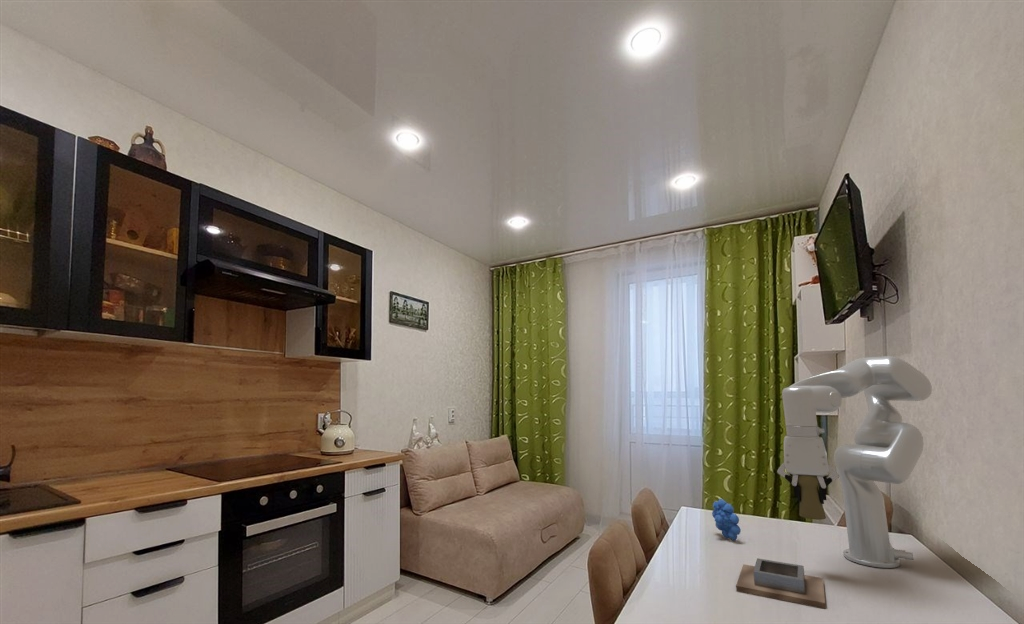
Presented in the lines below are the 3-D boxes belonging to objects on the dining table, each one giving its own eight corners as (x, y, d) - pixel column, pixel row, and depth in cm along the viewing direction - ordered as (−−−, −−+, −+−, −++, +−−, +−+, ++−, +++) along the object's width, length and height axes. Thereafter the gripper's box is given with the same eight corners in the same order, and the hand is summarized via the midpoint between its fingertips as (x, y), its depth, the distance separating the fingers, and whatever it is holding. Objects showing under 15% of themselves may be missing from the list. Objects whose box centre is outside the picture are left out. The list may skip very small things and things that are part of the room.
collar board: (823, 583, 115) (822, 577, 116) (825, 608, 102) (825, 603, 102) (743, 569, 125) (743, 564, 125) (736, 591, 111) (735, 585, 112)
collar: (804, 578, 115) (803, 565, 116) (804, 594, 107) (803, 580, 107) (758, 570, 121) (757, 558, 121) (754, 584, 112) (753, 571, 113)
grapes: (704, 534, 155) (701, 496, 157) (721, 532, 156) (718, 495, 158) (729, 545, 143) (725, 505, 145) (746, 543, 145) (743, 503, 147)
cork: (826, 520, 119) (821, 476, 121) (799, 517, 123) (794, 474, 124) (825, 514, 124) (820, 472, 126) (799, 512, 128) (794, 470, 129)
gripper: (838, 431, 126) (848, 502, 123) (768, 430, 135) (775, 495, 132) (840, 434, 119) (850, 508, 117) (766, 432, 128) (774, 501, 125)
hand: (810, 501), depth 124 cm, fingers closed on cork, 4 cm apart
